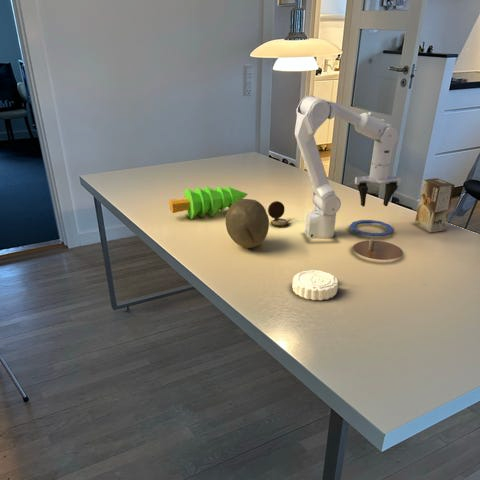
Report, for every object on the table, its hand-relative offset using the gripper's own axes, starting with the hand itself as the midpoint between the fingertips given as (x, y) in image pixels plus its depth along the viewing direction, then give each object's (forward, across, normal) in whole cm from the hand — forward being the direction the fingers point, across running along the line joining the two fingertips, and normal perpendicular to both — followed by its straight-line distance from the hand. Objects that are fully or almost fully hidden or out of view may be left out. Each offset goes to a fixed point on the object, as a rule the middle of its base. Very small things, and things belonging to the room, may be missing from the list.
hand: (373, 205), depth 162 cm
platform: (+10, -2, -16) cm, 19 cm away
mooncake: (+10, -27, -40) cm, 49 cm away
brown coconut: (+10, -43, -9) cm, 45 cm away
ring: (+10, +1, +2) cm, 10 cm away
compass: (+10, -29, +11) cm, 33 cm away
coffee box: (+10, +23, +5) cm, 26 cm away
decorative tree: (+10, -54, +21) cm, 59 cm away
